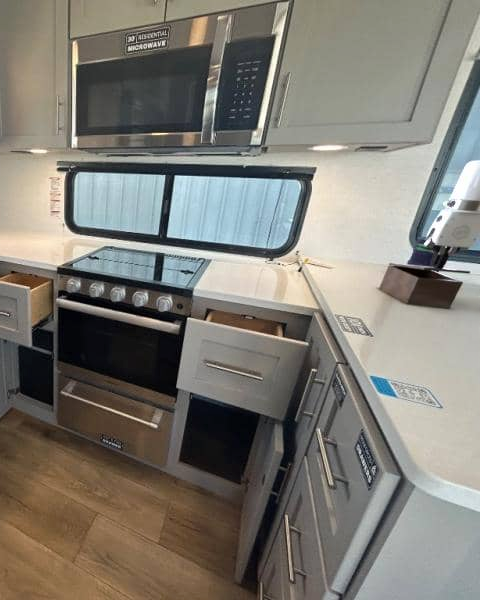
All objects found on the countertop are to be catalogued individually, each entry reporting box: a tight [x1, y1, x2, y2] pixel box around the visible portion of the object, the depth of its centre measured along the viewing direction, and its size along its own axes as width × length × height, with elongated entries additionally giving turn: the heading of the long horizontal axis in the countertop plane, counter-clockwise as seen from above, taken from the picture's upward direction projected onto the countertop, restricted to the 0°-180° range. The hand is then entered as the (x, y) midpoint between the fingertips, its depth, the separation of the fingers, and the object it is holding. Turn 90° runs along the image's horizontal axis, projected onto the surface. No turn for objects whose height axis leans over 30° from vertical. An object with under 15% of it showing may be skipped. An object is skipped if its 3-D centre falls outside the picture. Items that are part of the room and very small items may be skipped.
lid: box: [388, 262, 471, 275], centre depth 106 cm, size 15×12×1 cm
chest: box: [378, 264, 464, 309], centre depth 108 cm, size 15×12×9 cm
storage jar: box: [406, 236, 440, 273], centre depth 132 cm, size 10×10×15 cm
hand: (435, 267), depth 102 cm, fingers closed
